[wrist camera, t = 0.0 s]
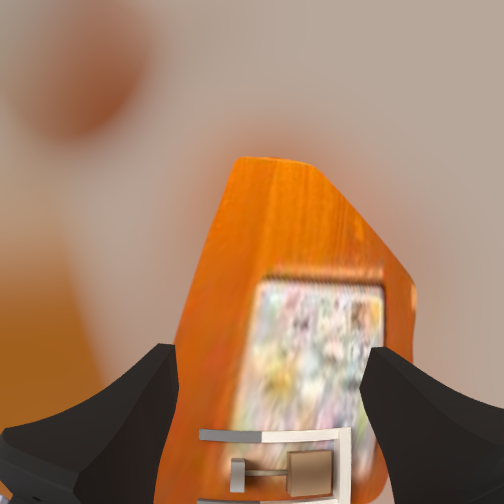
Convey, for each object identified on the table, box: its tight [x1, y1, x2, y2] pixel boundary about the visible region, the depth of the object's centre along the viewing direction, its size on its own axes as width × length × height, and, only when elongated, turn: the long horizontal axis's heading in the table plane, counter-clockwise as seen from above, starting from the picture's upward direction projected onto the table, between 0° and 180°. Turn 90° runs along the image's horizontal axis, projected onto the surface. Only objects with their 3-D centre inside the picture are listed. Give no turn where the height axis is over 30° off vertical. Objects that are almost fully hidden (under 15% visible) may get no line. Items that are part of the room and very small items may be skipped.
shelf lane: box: [260, 427, 351, 504], centre depth 32 cm, size 12×12×3 cm
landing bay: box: [197, 429, 262, 504], centre depth 32 cm, size 12×8×2 cm, turn 179°
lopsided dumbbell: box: [230, 449, 331, 497], centre depth 31 cm, size 6×12×5 cm, turn 89°
